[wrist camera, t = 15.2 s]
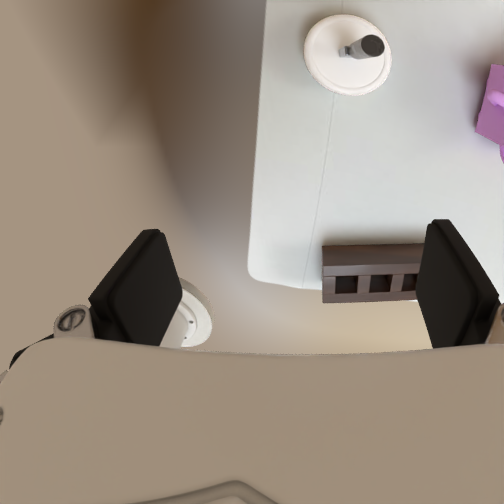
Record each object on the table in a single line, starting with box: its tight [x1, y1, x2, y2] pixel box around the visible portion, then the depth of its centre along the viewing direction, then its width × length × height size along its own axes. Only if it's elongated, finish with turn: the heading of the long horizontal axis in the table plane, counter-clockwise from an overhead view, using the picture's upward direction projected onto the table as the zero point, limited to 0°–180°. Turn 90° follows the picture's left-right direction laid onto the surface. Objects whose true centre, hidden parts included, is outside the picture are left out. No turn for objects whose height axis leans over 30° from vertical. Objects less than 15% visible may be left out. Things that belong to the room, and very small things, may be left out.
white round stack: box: [304, 14, 392, 96], centre depth 28 cm, size 10×10×4 cm
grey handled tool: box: [339, 34, 385, 60], centre depth 22 cm, size 2×2×12 cm
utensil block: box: [322, 244, 424, 303], centre depth 43 cm, size 7×17×5 cm, turn 98°
